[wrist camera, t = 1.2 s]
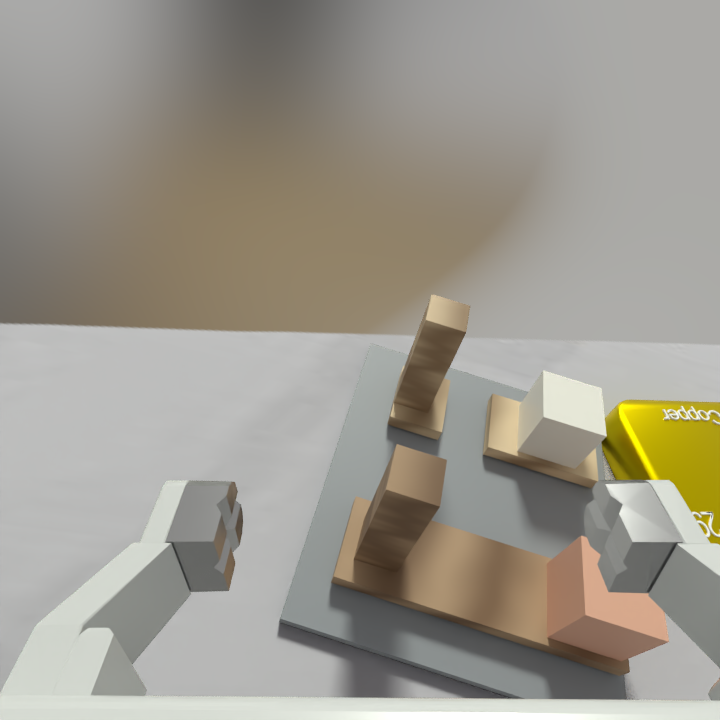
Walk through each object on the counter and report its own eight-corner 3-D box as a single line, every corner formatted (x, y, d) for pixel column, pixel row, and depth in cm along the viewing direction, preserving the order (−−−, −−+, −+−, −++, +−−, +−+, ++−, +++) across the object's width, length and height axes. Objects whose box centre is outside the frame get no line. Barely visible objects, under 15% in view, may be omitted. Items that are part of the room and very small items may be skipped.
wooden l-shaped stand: (330, 582, 35) (361, 508, 27) (353, 503, 39) (385, 418, 31) (619, 676, 34) (741, 630, 26) (611, 586, 38) (714, 521, 30)
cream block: (517, 451, 43) (543, 416, 40) (518, 405, 47) (543, 370, 43) (574, 469, 43) (606, 436, 40) (572, 422, 47) (601, 388, 43)
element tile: (715, 426, 54) (749, 398, 50) (811, 574, 44) (862, 553, 41) (586, 423, 51) (613, 394, 47) (659, 582, 41) (700, 560, 37)
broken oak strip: (387, 424, 44) (422, 333, 36) (400, 374, 48) (434, 282, 40) (591, 488, 44) (674, 411, 36) (586, 432, 48) (660, 351, 40)
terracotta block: (547, 637, 34) (585, 615, 30) (546, 563, 37) (581, 535, 34) (621, 661, 34) (669, 641, 30) (614, 585, 37) (656, 559, 33)
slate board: (279, 622, 34) (280, 618, 33) (369, 348, 51) (370, 343, 51) (622, 734, 33) (629, 732, 32) (594, 418, 51) (598, 413, 50)
